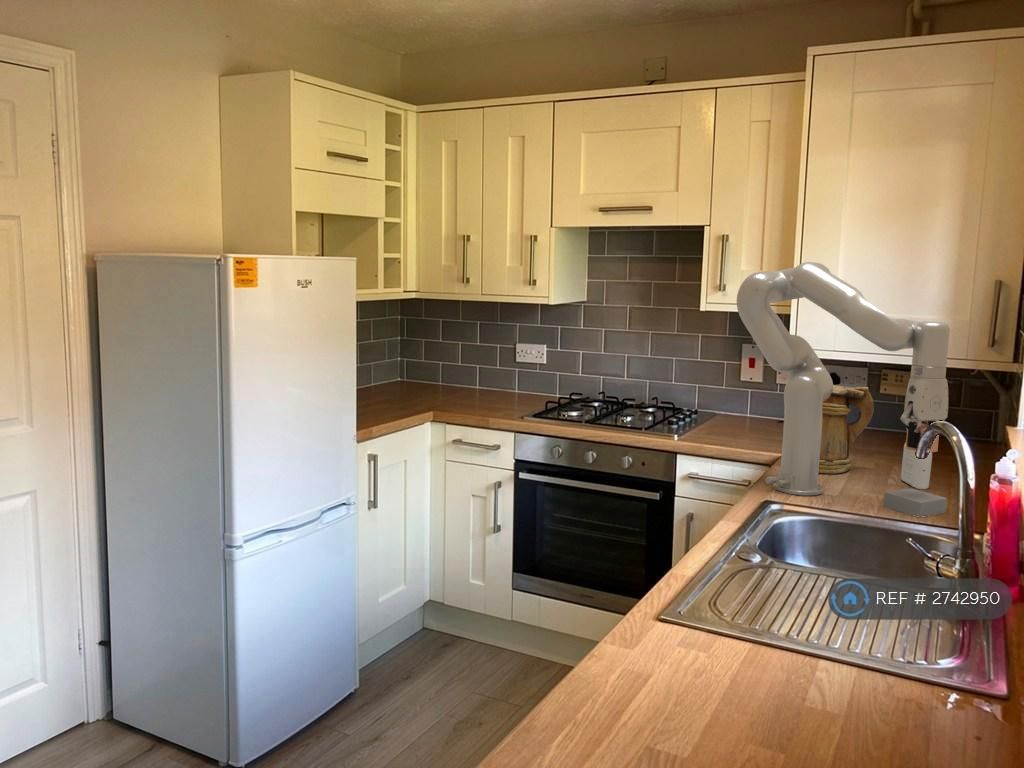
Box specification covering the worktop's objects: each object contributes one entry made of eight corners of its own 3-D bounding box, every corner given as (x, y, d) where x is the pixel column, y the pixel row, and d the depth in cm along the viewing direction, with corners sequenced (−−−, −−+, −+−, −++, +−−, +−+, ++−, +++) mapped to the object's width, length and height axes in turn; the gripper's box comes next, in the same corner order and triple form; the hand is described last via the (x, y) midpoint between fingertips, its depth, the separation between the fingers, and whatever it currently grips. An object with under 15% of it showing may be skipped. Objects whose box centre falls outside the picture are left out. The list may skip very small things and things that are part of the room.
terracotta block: (922, 453, 203) (924, 428, 202) (905, 448, 208) (907, 424, 207) (937, 451, 205) (939, 427, 204) (920, 447, 210) (922, 423, 209)
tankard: (782, 457, 262) (788, 378, 258) (864, 464, 255) (871, 383, 252) (784, 471, 245) (790, 385, 241) (871, 479, 238) (879, 391, 235)
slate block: (919, 519, 202) (921, 502, 201) (883, 508, 210) (884, 492, 210) (945, 514, 207) (947, 498, 206) (909, 503, 215) (910, 488, 215)
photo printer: (931, 489, 228) (935, 445, 227) (915, 489, 228) (919, 444, 227) (913, 480, 238) (917, 437, 237) (898, 479, 238) (902, 436, 237)
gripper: (915, 376, 197) (909, 452, 199) (966, 373, 204) (959, 447, 206) (889, 372, 204) (883, 446, 206) (939, 370, 211) (933, 441, 213)
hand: (921, 446), depth 206 cm, fingers closed on terracotta block, 5 cm apart
